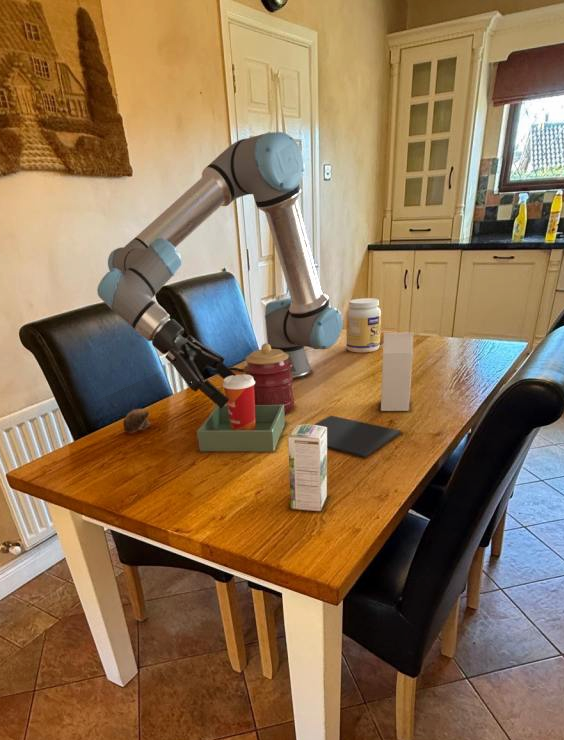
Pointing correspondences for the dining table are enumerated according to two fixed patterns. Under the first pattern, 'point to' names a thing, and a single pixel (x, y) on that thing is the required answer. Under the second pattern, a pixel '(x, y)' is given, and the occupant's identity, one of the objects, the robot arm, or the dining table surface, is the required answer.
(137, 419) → the toy hedgehog
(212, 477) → the dining table surface
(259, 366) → the kitchen canister
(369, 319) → the supplement tub
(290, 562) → the dining table surface
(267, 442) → the crate
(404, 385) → the milk carton
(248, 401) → the paper cup
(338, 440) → the placemat
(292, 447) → the syrup box
